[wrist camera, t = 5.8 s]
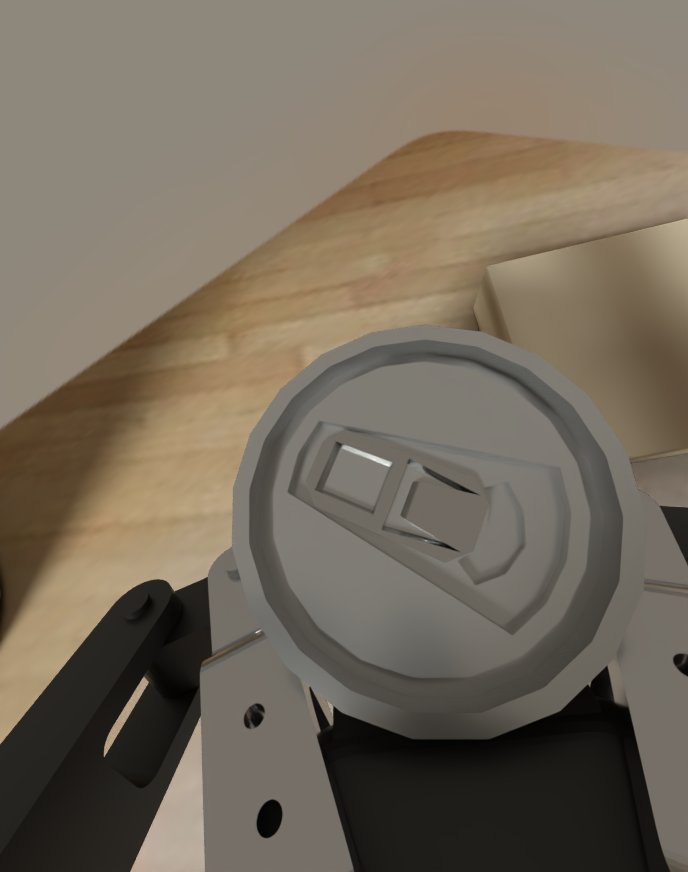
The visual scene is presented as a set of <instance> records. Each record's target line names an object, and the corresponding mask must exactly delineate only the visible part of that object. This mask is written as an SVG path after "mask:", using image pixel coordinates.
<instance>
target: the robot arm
mask: <svg viewBox="0 0 688 872" xmlns="http://www.w3.org/2000/svg"><path fill="white" fill-rule="evenodd" d="M638 491H639V490H638ZM639 494H640V497H641V500H642V504H643V507H644V510H645V514H646V517H647V528H646V549H645V571H644V591H643V594H642V596H641V598H640V600H639V603H638V605H637V607H636V609H635V612H634V614H633V616H632V619H631V621H630V623H629V625H628V628H627V630H626V632H625V635H624V637H623V639H622V641H621V644H620V646H619V648H618V651H617V653H616V655H615V657H614V659H613V660H612V661H611V662H610V663H609V664H608V665H607V666H606V667H605V668H604V669H603V670H602V671H601V672H600V673H599V674H598V675H597V676H596V677H595V678H594V679H593V680H592V681H591V682H590V683H588V684H587V685H586V686H585V687H584V688H583V689H582V690H581V691H580V692H579V693H578V694H577V695H576V696H575V697H574V698H573V699H572V700H571V701H570V702H569V703H568V704H567V705H566V706H565V707H564V708H563V709H562V710H561V711H559V712H557V713H554V714H552V715H549V716H547V717H544V718H542V719H539V720H536V721H534V722H531V723H529V724H526V725H524V726H521V727H519V728H516V729H514V730H511V731H509V732H506V733H504V734H501V735H499V736H496V737H493V738H491V739H411V738H408V737H406V736H403V735H400V734H398V733H395V732H392V731H389V730H387V729H384V728H381V727H379V726H376V725H373V724H371V723H368V722H365V721H363V720H360V719H357V718H355V717H352V716H349V715H346V714H344V713H342V712H341V711H339V710H338V709H337V708H336V707H333V716H332V713H331V710H330V708H329V705H328V703H327V700H326V699H325V698H323V697H322V696H321V695H320V694H319V693H317V692H316V691H315V690H314V689H312V688H311V687H310V686H309V685H308V684H306V683H305V682H304V681H303V680H301V679H300V678H299V677H298V676H297V675H295V674H294V673H293V672H292V671H291V670H289V669H288V668H287V667H286V666H285V664H284V663H283V661H282V660H281V658H280V656H279V655H278V653H277V652H276V650H275V649H274V647H273V646H272V644H271V643H270V641H269V639H268V638H267V636H266V635H265V633H264V632H263V630H262V629H261V627H260V625H259V624H258V622H257V621H256V619H255V618H254V616H253V615H252V613H251V612H250V610H249V607H248V603H247V600H246V596H245V593H244V589H243V585H242V582H241V578H240V575H239V571H238V568H237V564H236V561H235V557H234V553H233V550H232V547H231V548H230V549H228V550H226V551H225V552H224V553H223V554H221V555H220V556H219V557H218V558H217V559H216V561H215V562H214V563H213V565H212V566H211V568H210V570H209V574H208V577H207V578H205V579H203V580H200V581H198V582H196V583H193V584H191V585H189V586H186V587H184V588H182V589H179V590H177V591H175V592H174V590H173V589H172V587H171V586H170V584H169V583H168V582H166V581H164V580H159V579H157V580H150V581H147V582H144V583H142V584H140V585H138V586H136V587H134V588H132V589H131V590H129V591H128V592H127V593H125V594H124V595H123V596H122V597H121V598H120V599H119V600H118V601H117V602H116V603H115V604H114V605H113V606H112V607H111V609H110V610H109V611H108V612H107V613H106V615H105V616H104V617H103V618H102V620H101V621H100V622H99V623H98V625H97V626H96V627H95V628H94V630H93V631H92V632H91V633H90V634H89V636H88V637H87V638H86V639H85V641H84V642H83V643H82V644H81V646H80V647H79V648H78V649H77V650H76V652H75V653H74V654H73V655H72V657H71V658H70V659H69V660H68V662H67V663H66V664H65V665H64V667H63V668H62V669H61V670H60V671H59V673H58V674H57V675H56V676H55V678H54V679H53V680H52V681H51V683H50V684H49V685H48V686H47V688H46V689H45V690H44V691H43V692H42V694H41V695H40V696H39V697H38V699H37V700H36V701H35V702H34V704H33V705H32V706H31V707H30V708H29V710H28V711H27V712H26V713H25V715H24V716H23V717H22V718H21V720H20V721H19V722H18V723H17V725H16V726H15V727H14V728H13V729H12V731H11V732H10V733H9V734H8V736H7V737H6V738H5V739H4V741H3V742H2V743H1V744H0V872H130V871H131V869H132V866H133V864H134V862H135V860H136V857H137V855H138V853H139V851H140V849H141V846H142V844H143V842H144V840H145V838H146V835H147V833H148V831H149V829H150V827H151V824H152V822H153V820H154V818H155V815H156V813H157V811H158V809H159V807H160V804H161V802H162V800H163V798H164V796H165V793H166V791H167V789H168V787H169V784H170V782H171V780H172V778H173V776H174V773H175V771H176V769H177V767H178V765H179V762H180V760H181V758H182V756H183V754H184V751H185V749H186V747H187V745H188V742H189V740H190V738H191V736H192V734H193V731H194V729H195V727H196V725H197V723H198V720H199V718H200V716H201V735H202V772H203V810H204V847H205V872H688V508H685V507H667V506H659V505H658V503H657V502H656V501H655V500H654V499H653V498H651V497H650V496H649V495H647V494H645V493H644V492H642V491H639ZM0 596H1V591H0ZM143 677H145V678H146V679H147V681H148V682H149V683H148V685H147V687H146V688H145V690H144V692H143V693H142V695H141V697H140V699H139V700H138V702H137V704H136V705H135V707H134V709H133V710H132V712H131V714H130V715H129V717H128V719H127V720H126V722H125V724H124V725H123V727H122V729H121V730H120V732H119V734H118V735H117V737H116V739H115V740H114V742H113V744H112V745H111V747H110V749H109V750H108V752H107V754H106V755H105V757H104V746H105V742H106V739H107V736H108V734H109V732H110V730H111V729H112V727H113V725H114V724H115V722H116V720H117V719H118V717H119V715H120V714H121V712H122V711H123V709H124V707H125V706H126V704H127V702H128V701H129V699H130V698H131V696H132V694H133V693H134V691H135V689H136V688H137V686H138V685H139V683H140V681H141V680H142V678H143Z"/></svg>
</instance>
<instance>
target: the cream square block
mask: <svg viewBox="0 0 688 872" xmlns="http://www.w3.org/2000/svg"><path fill="white" fill-rule="evenodd" d="M473 310H474V313H475V317H476V320H477V323H478V326H479V330H480V332H484V333H486V334H489V335H491V336H494V337H496V338H498V339H501V340H503V341H505V342H508V343H510V344H513V345H515V346H517V347H520V348H522V349H524V350H527V351H529V352H532V353H534V354H536V355H539V356H540V357H541V358H542V359H544V360H545V361H546V362H547V363H549V364H550V365H551V366H552V367H553V368H555V369H556V370H557V371H558V372H560V373H561V374H562V375H563V376H565V377H566V378H567V379H568V380H570V381H571V382H572V383H573V384H575V385H576V386H577V387H578V388H580V389H581V390H582V391H583V392H585V393H586V394H587V395H588V396H589V397H590V399H591V400H592V402H593V403H594V404H595V406H596V407H597V409H598V410H599V412H600V413H601V415H602V416H603V417H604V419H605V420H606V422H607V423H608V425H609V426H610V428H611V429H612V431H613V432H614V433H615V435H616V436H617V438H618V439H619V441H620V442H621V444H622V445H623V447H624V448H625V449H626V451H627V454H628V457H629V461H630V463H633V462H639V461H645V460H651V459H657V458H663V457H668V456H674V455H680V454H686V453H688V219H684V220H680V221H675V222H671V223H667V224H663V225H658V226H654V227H650V228H646V229H641V230H637V231H633V232H629V233H625V234H620V235H616V236H612V237H608V238H603V239H599V240H595V241H591V242H586V243H582V244H578V245H574V246H570V247H565V248H561V249H557V250H553V251H548V252H544V253H540V254H536V255H531V256H527V257H523V258H519V259H514V260H510V261H506V262H502V263H498V264H493V265H489V266H487V267H486V270H485V273H484V276H483V279H482V282H481V285H480V288H479V291H478V295H477V298H476V301H475V304H474V307H473Z"/></svg>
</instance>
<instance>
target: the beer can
mask: <svg viewBox="0 0 688 872" xmlns="http://www.w3.org/2000/svg"><path fill="white" fill-rule="evenodd" d="M646 528H647V517H646V514H645V510H644V507H643V504H642V500H641V497H640V494H639V491H638V487H637V484H636V481H635V477H634V474H633V471H632V467H631V464H630V461H629V457H628V454H627V451H626V449H625V448H624V447H623V445H622V444H621V442H620V441H619V439H618V438H617V436H616V435H615V433H614V432H613V431H612V429H611V428H610V426H609V425H608V423H607V422H606V420H605V419H604V417H603V416H602V415H601V413H600V412H599V410H598V409H597V407H596V406H595V404H594V403H593V402H592V400H591V399H590V397H589V396H588V395H587V394H586V393H585V392H583V391H582V390H581V389H580V388H578V387H577V386H576V385H575V384H573V383H572V382H571V381H570V380H568V379H567V378H566V377H565V376H563V375H562V374H561V373H560V372H558V371H557V370H556V369H555V368H553V367H552V366H551V365H550V364H549V363H547V362H546V361H545V360H544V359H542V358H541V357H540V356H539V355H536V354H534V353H532V352H529V351H527V350H524V349H522V348H520V347H517V346H515V345H513V344H510V343H508V342H505V341H503V340H501V339H498V338H496V337H494V336H491V335H489V334H486V333H484V332H480V331H472V330H464V329H456V328H448V327H440V326H433V325H419V326H412V327H406V328H399V329H392V330H385V331H378V332H371V333H369V334H367V335H364V336H362V337H360V338H358V339H355V340H353V341H351V342H349V343H346V344H344V345H342V346H340V347H337V348H335V349H333V350H331V351H328V352H326V353H324V354H322V355H320V356H319V357H318V358H317V359H316V360H314V361H313V362H312V363H311V364H310V365H309V366H307V367H306V368H305V369H304V370H303V371H301V372H300V373H299V374H298V375H297V376H295V377H294V378H293V379H292V380H291V381H289V382H288V383H287V384H286V385H285V386H283V387H282V388H281V389H280V391H279V392H278V393H277V395H276V396H275V398H274V399H273V401H272V402H271V404H270V405H269V407H268V408H267V410H266V411H265V413H264V414H263V416H262V417H261V419H260V420H259V422H258V423H257V425H256V426H255V428H254V429H253V431H252V432H251V434H250V436H249V439H248V443H247V446H246V449H245V452H244V455H243V458H242V462H241V465H240V468H239V471H238V474H237V477H236V481H235V484H234V487H233V521H232V550H233V553H234V557H235V561H236V564H237V568H238V571H239V575H240V578H241V582H242V585H243V589H244V593H245V596H246V600H247V603H248V607H249V610H250V612H251V613H252V615H253V616H254V618H255V619H256V621H257V622H258V624H259V625H260V627H261V629H262V630H263V632H264V633H265V635H266V636H267V638H268V639H269V641H270V643H271V644H272V646H273V647H274V649H275V650H276V652H277V653H278V655H279V656H280V658H281V660H282V661H283V663H284V664H285V666H286V667H287V668H288V669H289V670H291V671H292V672H293V673H294V674H295V675H297V676H298V677H299V678H300V679H301V680H303V681H304V682H305V683H306V684H308V685H309V686H310V687H311V688H312V689H314V690H315V691H316V692H317V693H319V694H320V695H321V696H322V697H323V698H325V699H326V700H327V701H328V702H330V703H331V704H332V705H333V706H334V707H336V708H337V709H338V710H339V711H341V712H342V713H344V714H346V715H349V716H352V717H355V718H357V719H360V720H363V721H365V722H368V723H371V724H373V725H376V726H379V727H381V728H384V729H387V730H389V731H392V732H395V733H398V734H400V735H403V736H406V737H408V738H411V739H491V738H493V737H496V736H499V735H501V734H504V733H506V732H509V731H511V730H514V729H516V728H519V727H521V726H524V725H526V724H529V723H531V722H534V721H536V720H539V719H542V718H544V717H547V716H549V715H552V714H554V713H557V712H559V711H561V710H562V709H563V708H564V707H565V706H566V705H567V704H568V703H569V702H570V701H571V700H572V699H573V698H574V697H575V696H576V695H577V694H578V693H579V692H580V691H581V690H582V689H583V688H584V687H585V686H586V685H587V684H588V683H590V682H591V681H592V680H593V679H594V678H595V677H596V676H597V675H598V674H599V673H600V672H601V671H602V670H603V669H604V668H605V667H606V666H607V665H608V664H609V663H610V662H611V661H612V660H613V659H614V657H615V655H616V653H617V651H618V648H619V646H620V644H621V641H622V639H623V637H624V635H625V632H626V630H627V628H628V625H629V623H630V621H631V619H632V616H633V614H634V612H635V609H636V607H637V605H638V603H639V600H640V598H641V596H642V594H643V591H644V571H645V549H646Z"/></svg>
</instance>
